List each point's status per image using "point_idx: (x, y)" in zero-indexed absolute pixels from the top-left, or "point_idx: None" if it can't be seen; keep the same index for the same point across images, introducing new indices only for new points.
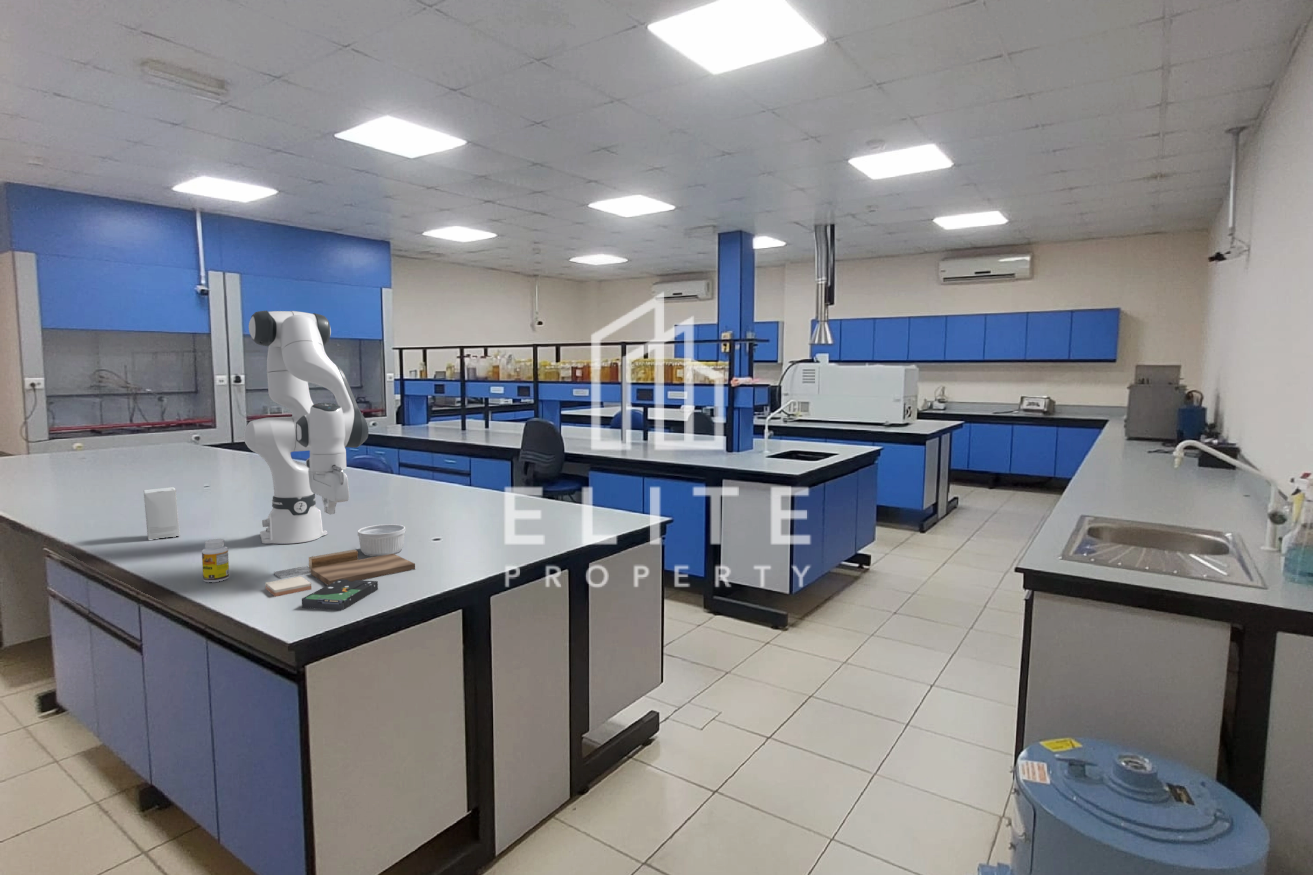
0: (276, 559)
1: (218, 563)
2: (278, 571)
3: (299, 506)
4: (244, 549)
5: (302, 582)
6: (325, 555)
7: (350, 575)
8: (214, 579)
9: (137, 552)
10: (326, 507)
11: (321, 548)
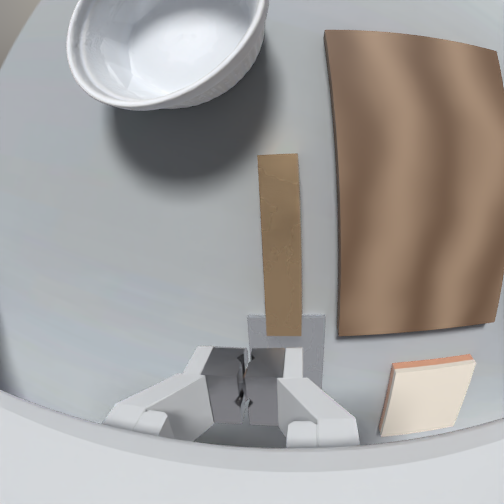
0: (106, 342)
1: None
2: None
3: None
4: (11, 350)
5: (453, 377)
6: (282, 283)
7: (496, 261)
8: None
9: None
10: (242, 421)
11: (48, 210)
